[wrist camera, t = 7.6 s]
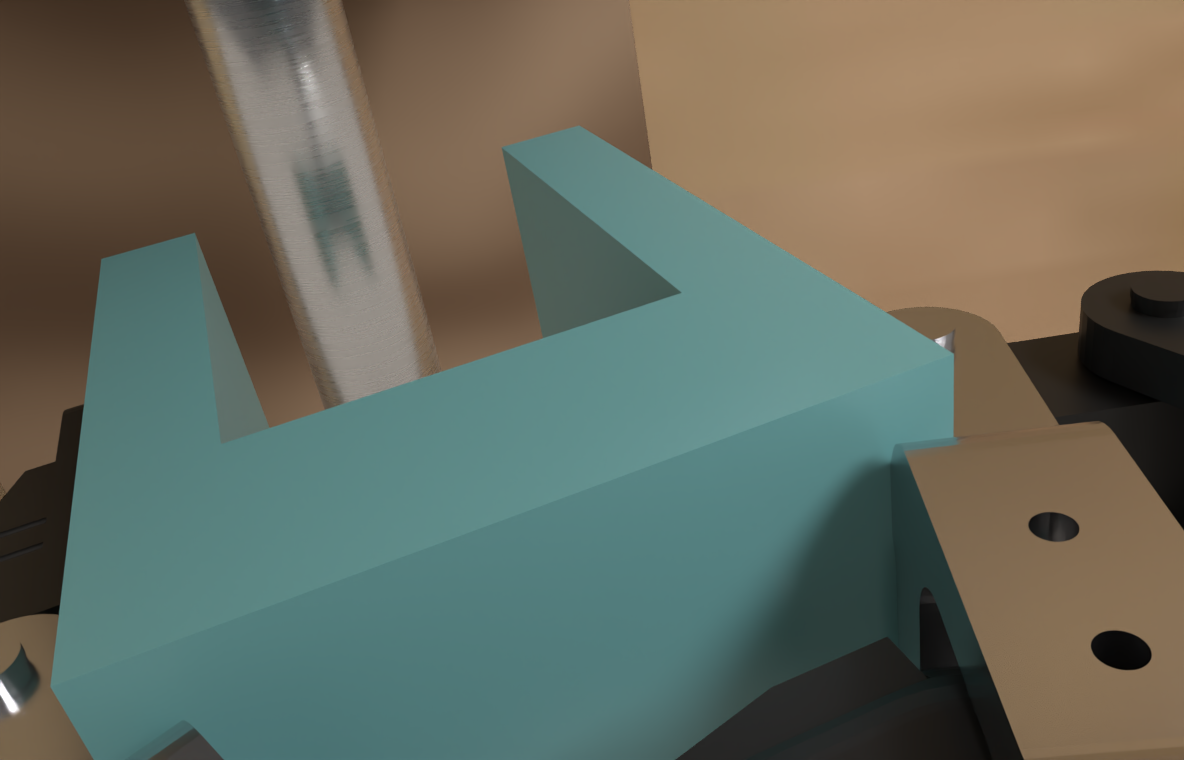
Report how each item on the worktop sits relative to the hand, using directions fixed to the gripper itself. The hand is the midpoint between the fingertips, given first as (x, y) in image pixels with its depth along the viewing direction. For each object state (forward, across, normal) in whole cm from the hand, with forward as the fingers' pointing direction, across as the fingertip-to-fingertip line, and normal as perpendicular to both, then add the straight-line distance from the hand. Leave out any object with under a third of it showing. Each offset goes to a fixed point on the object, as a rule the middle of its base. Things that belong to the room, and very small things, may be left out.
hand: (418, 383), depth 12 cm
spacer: (+1, 0, 0) cm, 1 cm away
